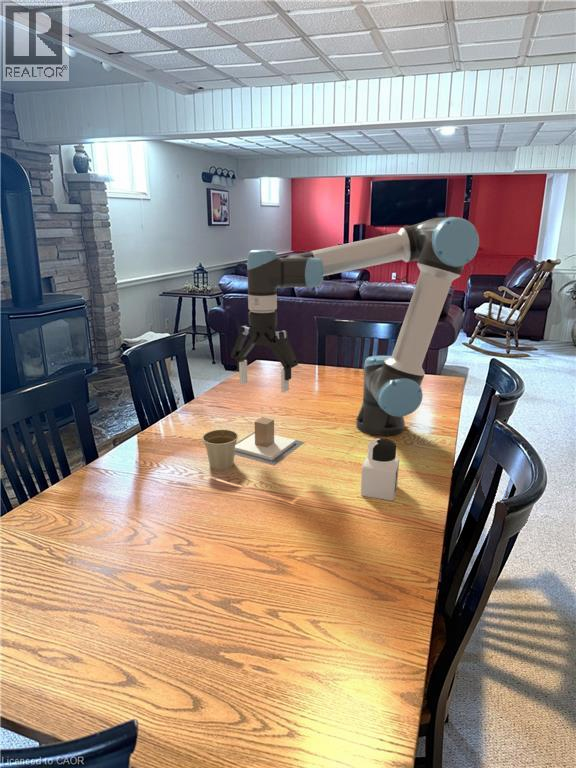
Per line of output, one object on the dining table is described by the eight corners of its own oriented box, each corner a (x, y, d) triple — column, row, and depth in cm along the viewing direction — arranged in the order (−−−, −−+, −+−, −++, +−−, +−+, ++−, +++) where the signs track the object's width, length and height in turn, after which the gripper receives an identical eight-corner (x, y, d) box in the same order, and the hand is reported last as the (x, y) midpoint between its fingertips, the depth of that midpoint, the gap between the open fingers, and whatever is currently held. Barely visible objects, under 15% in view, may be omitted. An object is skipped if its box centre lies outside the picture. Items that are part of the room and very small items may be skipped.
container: (397, 486, 123) (401, 437, 119) (393, 501, 116) (397, 450, 112) (366, 480, 125) (369, 433, 121) (360, 496, 118) (362, 446, 115)
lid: (295, 443, 146) (295, 417, 143) (271, 460, 135) (271, 433, 132) (258, 434, 152) (258, 409, 149) (233, 450, 141) (232, 423, 139)
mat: (304, 444, 146) (304, 442, 146) (274, 467, 132) (274, 465, 132) (256, 432, 155) (256, 430, 154) (223, 453, 141) (223, 451, 140)
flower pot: (233, 476, 128) (232, 445, 125) (198, 472, 130) (196, 442, 127) (243, 459, 137) (242, 430, 134) (210, 456, 138) (209, 428, 136)
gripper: (216, 308, 134) (219, 383, 140) (297, 316, 122) (296, 398, 129) (232, 304, 140) (235, 376, 147) (311, 312, 128) (310, 390, 135)
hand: (263, 387), depth 138 cm, fingers open, 13 cm apart
